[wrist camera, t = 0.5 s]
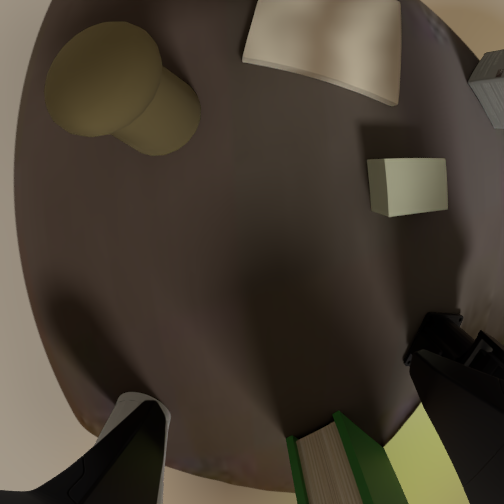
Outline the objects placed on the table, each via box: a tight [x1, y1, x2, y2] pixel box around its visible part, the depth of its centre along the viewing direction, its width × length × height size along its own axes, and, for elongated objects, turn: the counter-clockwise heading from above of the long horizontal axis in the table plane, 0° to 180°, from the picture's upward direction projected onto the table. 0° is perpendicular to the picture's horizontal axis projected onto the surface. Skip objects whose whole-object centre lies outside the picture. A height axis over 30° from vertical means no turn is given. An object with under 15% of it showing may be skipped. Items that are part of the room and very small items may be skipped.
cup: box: [95, 392, 171, 504], centre depth 19 cm, size 8×8×12 cm
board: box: [242, 0, 401, 107], centre depth 14 cm, size 12×12×1 cm
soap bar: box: [367, 158, 448, 217], centre depth 18 cm, size 6×4×3 cm, turn 99°
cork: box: [44, 22, 201, 156], centre depth 11 cm, size 6×6×11 cm
